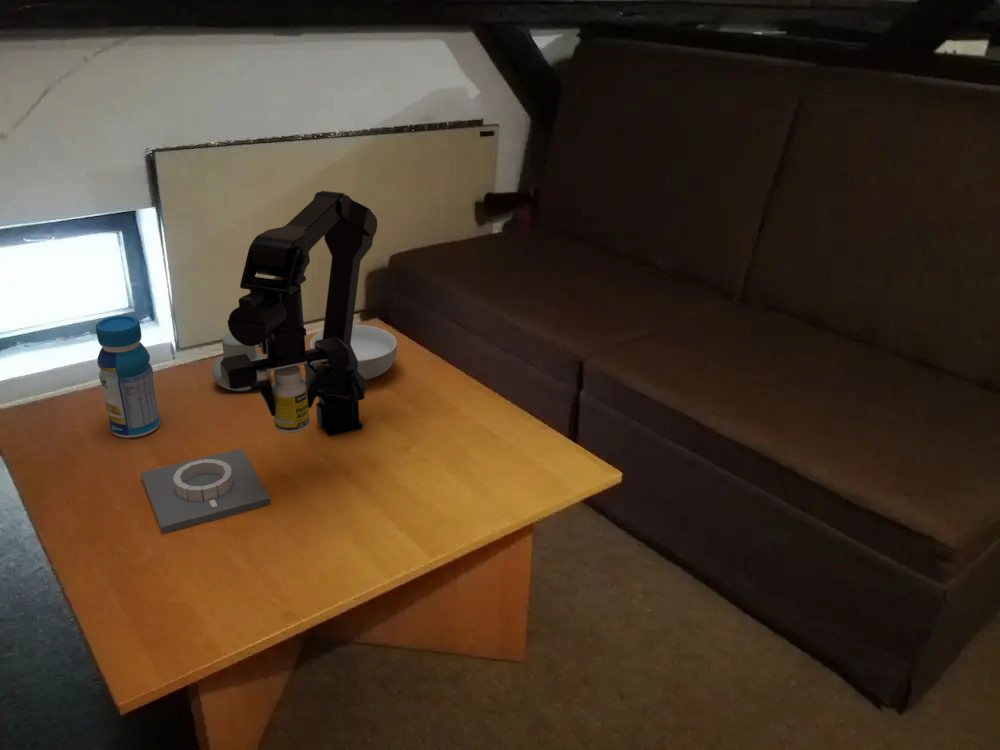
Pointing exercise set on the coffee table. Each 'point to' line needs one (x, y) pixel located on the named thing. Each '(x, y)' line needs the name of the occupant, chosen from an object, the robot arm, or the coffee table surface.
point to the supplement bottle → (290, 400)
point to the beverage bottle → (126, 377)
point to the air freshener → (232, 349)
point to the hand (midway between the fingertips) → (290, 410)
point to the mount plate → (204, 490)
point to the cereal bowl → (370, 349)
